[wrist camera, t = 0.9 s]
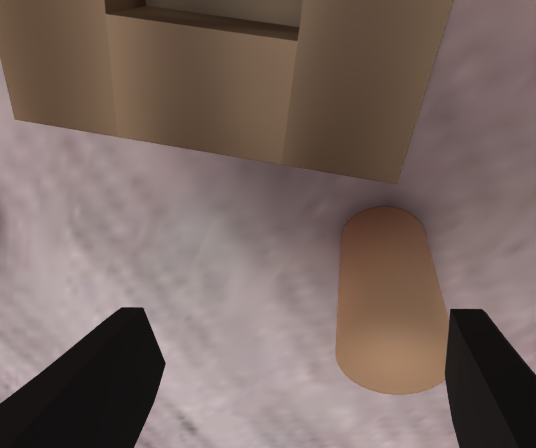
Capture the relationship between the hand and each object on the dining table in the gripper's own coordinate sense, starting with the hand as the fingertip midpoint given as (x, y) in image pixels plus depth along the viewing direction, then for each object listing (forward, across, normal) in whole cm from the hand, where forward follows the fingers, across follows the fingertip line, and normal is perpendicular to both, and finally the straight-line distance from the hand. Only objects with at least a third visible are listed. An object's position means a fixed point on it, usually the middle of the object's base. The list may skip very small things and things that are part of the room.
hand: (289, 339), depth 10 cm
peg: (+10, -3, +4) cm, 12 cm away
